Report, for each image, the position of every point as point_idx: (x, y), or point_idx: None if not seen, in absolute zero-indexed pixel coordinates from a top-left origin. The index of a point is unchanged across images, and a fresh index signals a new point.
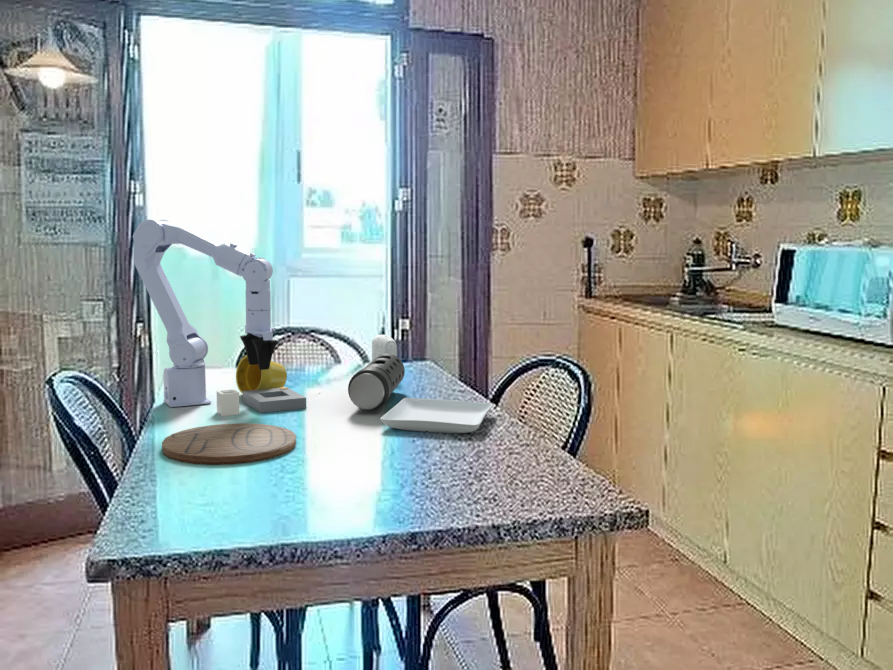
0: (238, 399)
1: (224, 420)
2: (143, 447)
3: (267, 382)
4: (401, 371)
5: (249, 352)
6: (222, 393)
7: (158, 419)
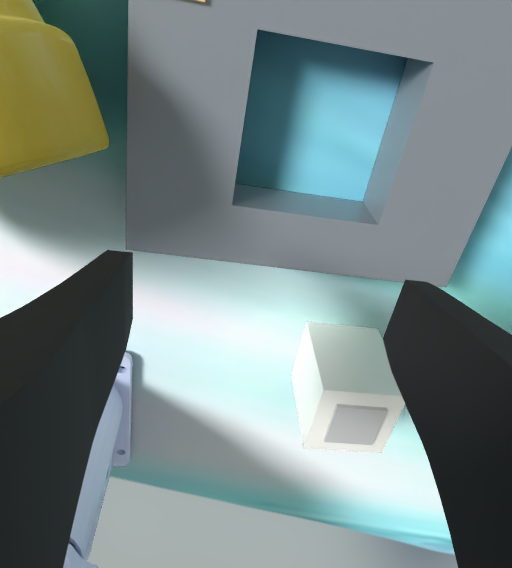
0: None
1: None
2: None
3: (88, 78)
4: None
5: (96, 406)
6: (372, 446)
7: (270, 505)
